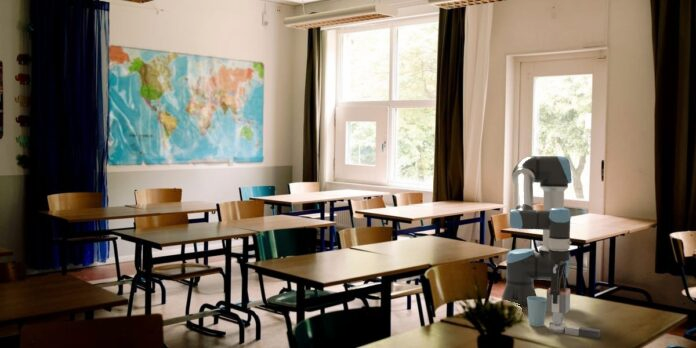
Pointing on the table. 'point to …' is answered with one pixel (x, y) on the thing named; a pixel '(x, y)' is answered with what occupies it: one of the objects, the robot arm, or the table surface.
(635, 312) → the table surface
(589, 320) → the table surface
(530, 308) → the cup
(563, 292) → the red-topped grey block
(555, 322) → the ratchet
